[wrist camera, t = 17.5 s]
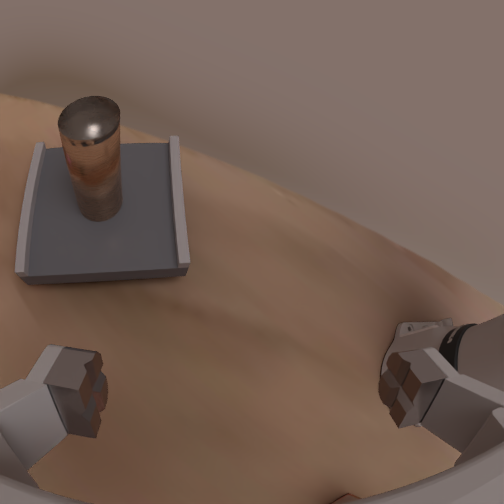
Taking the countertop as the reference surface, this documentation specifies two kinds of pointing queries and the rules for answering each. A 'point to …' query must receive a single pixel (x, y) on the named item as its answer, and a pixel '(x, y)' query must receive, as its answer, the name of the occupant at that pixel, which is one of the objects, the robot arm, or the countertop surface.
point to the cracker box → (346, 499)
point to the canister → (93, 155)
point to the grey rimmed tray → (106, 232)
